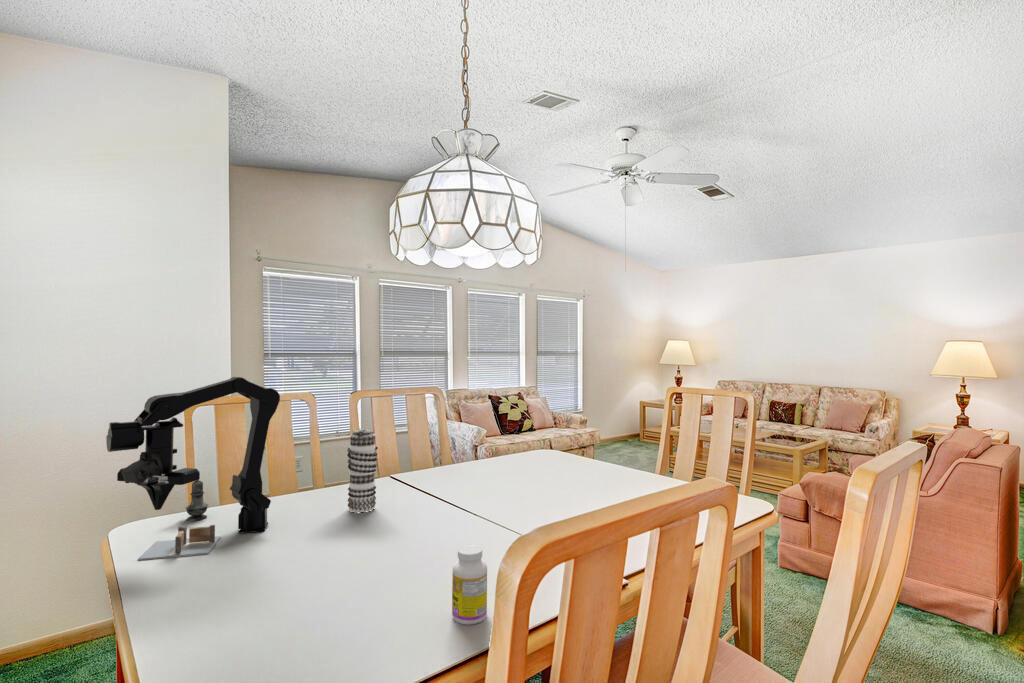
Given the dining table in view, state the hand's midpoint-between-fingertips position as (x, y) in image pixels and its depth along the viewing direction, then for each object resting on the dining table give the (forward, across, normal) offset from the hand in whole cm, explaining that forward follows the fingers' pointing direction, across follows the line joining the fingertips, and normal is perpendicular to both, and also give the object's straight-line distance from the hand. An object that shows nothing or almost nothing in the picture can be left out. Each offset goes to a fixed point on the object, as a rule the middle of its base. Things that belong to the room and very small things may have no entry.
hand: (158, 509), depth 128 cm
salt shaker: (+11, -10, +24) cm, 28 cm away
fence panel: (+10, +6, +1) cm, 11 cm away
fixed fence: (+10, +6, +6) cm, 13 cm away
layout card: (+10, +4, +3) cm, 12 cm away
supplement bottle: (+10, +84, -15) cm, 86 cm away
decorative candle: (+10, +34, +42) cm, 55 cm away
